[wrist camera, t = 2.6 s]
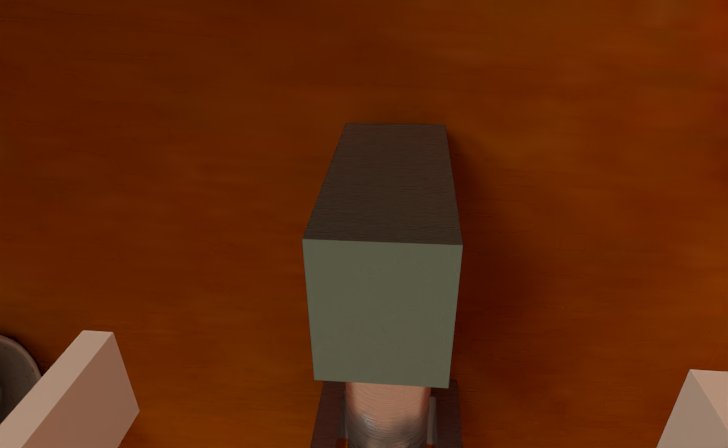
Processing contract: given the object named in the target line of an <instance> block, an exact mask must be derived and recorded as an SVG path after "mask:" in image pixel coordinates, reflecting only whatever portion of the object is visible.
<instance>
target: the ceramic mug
mask: <svg viewBox="0 0 728 448" xmlns="http://www.w3.org/2000/svg"><path fill="white" fill-rule="evenodd" d="M41 378H42V377H41V374H40V372H39V370H38V367H37V364H36V363H35V361H34V360H33V358H32V357H31V355H30V354H29V353H28V352H27V351H26V350H25V349H24V348H23V347H22V346H21V345H20V344H19V343H17V342H15V341H13V340H12V339H10V338H7V337H4V336H2V335H0V425H1V423H2V422H3V421H4V420H5V419H6V418H7V417H8V415H9V414H10V413H11V412H12V411H13V410H14V409H15V407H16V406H17V405H18V404H19V403H20V402H21V401H22V399H23V398H24V397H25V396H26V395H27V394H28V393H29V391H30V390H31V389H32V388H33V387H34V386H35V385H36V383H37V382H38V381H39V380H40V379H41Z"/></svg>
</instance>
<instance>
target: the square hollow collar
mask: <svg viewBox="0 0 728 448" xmlns="http://www.w3.org/2000/svg"><path fill="white" fill-rule="evenodd" d="M346 438H348V427H347V404H346V382H341V381H325V380H324V384H323V389H322V393H321V398H320V403H319V408H318V413H317V417H316V422H315V427H314V432H313V437H312V441H311V446H310V448H345V443H346ZM427 444H430V445H432V448H463V445H462V434H461V422H460V411H459V400H458V389H457V381H449V385H448V388H436V387H431V393H430V406H429V418H428V431H427Z"/></svg>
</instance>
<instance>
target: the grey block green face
mask: <svg viewBox="0 0 728 448" xmlns="http://www.w3.org/2000/svg"><path fill="white" fill-rule="evenodd" d="M302 243H303V254H304V266H305V277H306V289H307V300H308V311H309V323H310V334H311V346H312V357H313V369H314V380H325V381H341V382H346V404H347V427H348V448H426V444H427V431H428V418H429V406H430V393H431V387H436V388H448V385H449V376H450V366H451V356H452V347H453V337H454V327H455V317H456V308H457V298H458V288H459V279H460V269H461V259H462V249H463V242H462V236H461V229H460V222H459V215H458V209H457V202H456V195H455V188H454V181H453V175H452V168H451V161H450V154H449V147H448V141H447V134H446V127H445V125H429V124H374V123H346V124H345V127H344V130H343V132H342V135H341V138H340V140H339V143H338V146H337V148H336V151H335V154H334V156H333V159H332V161H331V164H330V167H329V169H328V172H327V175H326V177H325V180H324V183H323V185H322V188H321V191H320V193H319V196H318V199H317V201H316V204H315V206H314V209H313V212H312V214H311V217H310V220H309V222H308V225H307V228H306V230H305V233H304V236H303V238H302Z"/></svg>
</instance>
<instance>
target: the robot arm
mask: <svg viewBox="0 0 728 448" xmlns="http://www.w3.org/2000/svg"><path fill="white" fill-rule="evenodd" d="M139 411H140V410H139V408H138V405H137V402H136V399H135V396H134V393H133V390H132V387H131V384H130V381H129V378H128V375H127V372H126V369H125V366H124V363H123V360H122V357H121V354H120V351H119V348H118V345H117V342H116V339H115V336H114V333H113V332H102V331H87V330H83V331H82V332H81V333H80V334H79V336H78V337H77V338H76V339H75V340H74V341H73V342H72V344H71V345H70V346H69V347H68V348H67V349H66V350H65V352H64V353H63V354H62V355H61V356H60V357H59V358H58V359H57V361H56V362H55V363H54V364H53V365H52V366H51V367H50V369H49V370H48V371H47V372H46V373H45V374H44V375H43V377H42V378H41V379H40V380H39V381H38V382H37V383H36V385H35V386H34V387H33V388H32V389H31V390H30V391H29V393H28V394H27V395H26V396H25V397H24V398H23V399H22V401H21V402H20V403H19V404H18V405H17V406H16V407H15V409H14V410H13V411H12V412H11V413H10V414H9V415H8V417H7V418H6V419H5V420H4V421H3V422H2V423H1V425H0V448H118V446H119V444H120V443H121V441H122V439H123V438H124V436H125V434H126V433H127V431H128V430H129V428H130V426H131V425H132V423H133V421H134V420H135V418H136V416H137V415H138V413H139ZM657 448H728V372H723V371H707V370H692V369H690V370H689V373H688V375H687V377H686V380H685V382H684V384H683V387H682V389H681V391H680V394H679V396H678V398H677V401H676V403H675V406H674V408H673V410H672V413H671V415H670V417H669V420H668V422H667V424H666V427H665V429H664V431H663V434H662V436H661V439H660V441H659V443H658V446H657Z"/></svg>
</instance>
